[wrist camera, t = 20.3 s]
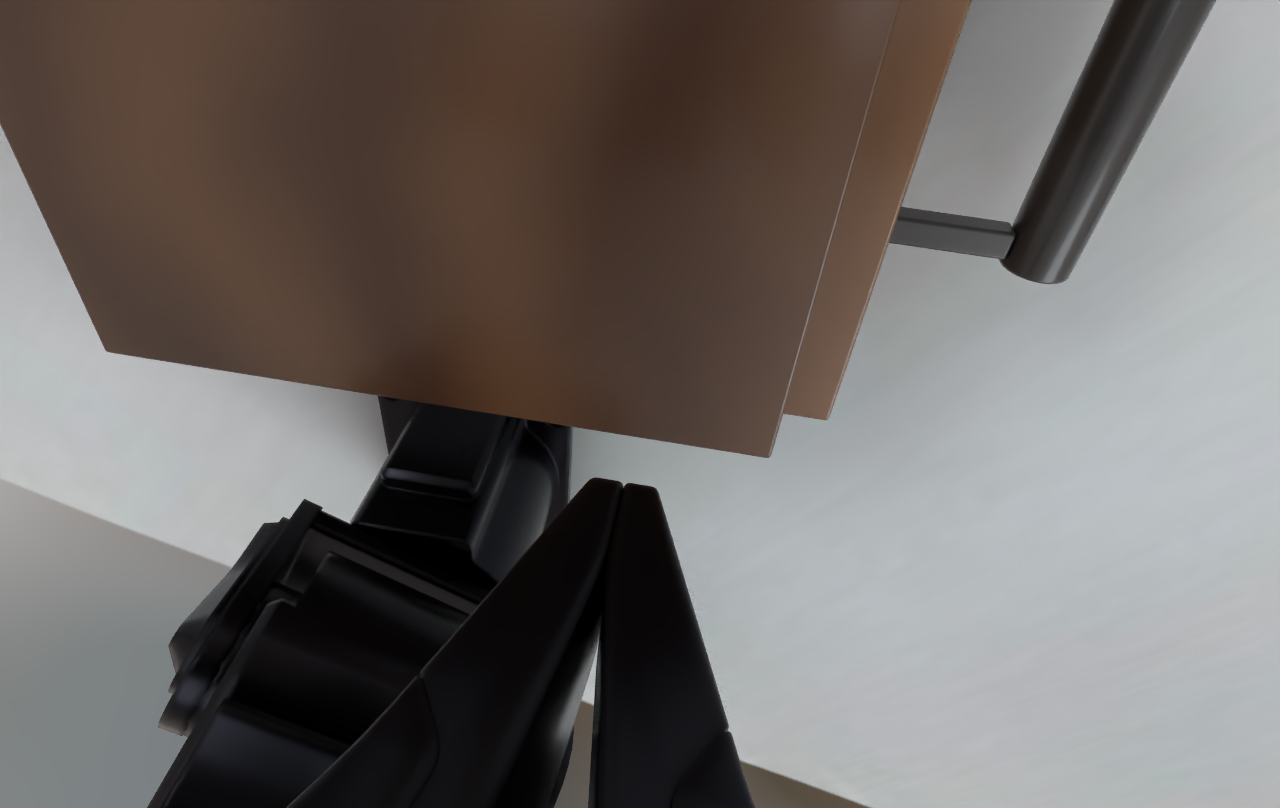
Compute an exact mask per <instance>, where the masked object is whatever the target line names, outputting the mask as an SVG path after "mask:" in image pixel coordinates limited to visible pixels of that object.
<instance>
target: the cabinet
mask: <svg viewBox="0 0 1280 808" xmlns="http://www.w3.org/2000/svg"><path fill="white" fill-rule="evenodd" d="M900 3H901V0H0V124H1V127H2V129H3V131H4V133H5V135H6V137H7V140H8V142H9V144H10V146H11V148H12V150H13V152H14V155H15V157H16V159H17V161H18V163H19V165H20V167H21V170H22V172H23V174H24V176H25V178H26V180H27V183H28V185H29V187H30V189H31V191H32V193H33V195H34V198H35V200H36V202H37V204H38V206H39V208H40V211H41V213H42V215H43V217H44V219H45V221H46V223H47V226H48V228H49V230H50V232H51V234H52V236H53V238H54V241H55V243H56V245H57V247H58V249H59V251H60V254H61V256H62V258H63V260H64V262H65V264H66V266H67V269H68V271H69V273H70V275H71V277H72V279H73V281H74V284H75V286H76V288H77V290H78V292H79V294H80V297H81V299H82V301H83V303H84V305H85V307H86V309H87V312H88V314H89V316H90V318H91V320H92V322H93V325H94V327H95V329H96V331H97V333H98V335H99V337H100V340H101V342H102V344H103V346H104V348H105V350H106V351H107V352H111V353H117V354H123V355H129V356H136V357H142V358H148V359H154V360H160V361H167V362H173V363H179V364H185V365H192V366H198V367H204V368H210V369H216V370H223V371H229V372H235V373H241V374H248V375H254V376H260V377H266V378H273V379H279V380H285V381H291V382H297V383H304V384H310V385H316V386H322V387H329V388H335V389H341V390H347V391H354V392H360V393H366V394H372V395H378V396H385V397H391V398H397V399H403V400H410V401H416V402H422V403H428V404H435V405H441V406H447V407H453V408H459V409H466V410H472V411H478V412H484V413H491V414H497V415H503V416H509V417H516V418H522V419H528V420H534V421H540V422H547V423H553V424H559V425H565V426H572V427H578V428H584V429H590V430H596V431H603V432H609V433H615V434H621V435H628V436H634V437H640V438H646V439H653V440H659V441H665V442H671V443H677V444H684V445H690V446H696V447H702V448H709V449H715V450H721V451H727V452H734V453H740V454H746V455H752V456H758V457H765V458H770V456H771V454H772V451H773V447H774V444H775V440H776V437H777V433H778V430H779V426H780V423H781V419H782V416H783V412H784V409H785V405H786V402H787V398H788V395H789V391H790V388H791V384H792V381H793V377H794V374H795V370H796V367H797V363H798V360H799V356H800V353H801V349H802V346H803V342H804V339H805V335H806V332H807V328H808V325H809V321H810V318H811V314H812V311H813V307H814V304H815V300H816V297H817V293H818V290H819V286H820V283H821V279H822V276H823V272H824V269H825V265H826V262H827V258H828V255H829V251H830V248H831V244H832V241H833V237H834V234H835V230H836V227H837V223H838V220H839V216H840V213H841V209H842V206H843V202H844V199H845V195H846V192H847V188H848V185H849V181H850V178H851V174H852V171H853V167H854V164H855V160H856V157H857V153H858V150H859V146H860V143H861V139H862V136H863V132H864V129H865V125H866V122H867V118H868V115H869V111H870V108H871V104H872V101H873V97H874V94H875V90H876V87H877V83H878V80H879V76H880V73H881V69H882V66H883V62H884V59H885V55H886V52H887V48H888V45H889V41H890V38H891V34H892V31H893V27H894V24H895V20H896V17H897V13H898V10H899V6H900Z"/></svg>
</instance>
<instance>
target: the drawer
mask: <svg viewBox="0 0 1280 808" xmlns="http://www.w3.org/2000/svg"><path fill="white" fill-rule="evenodd" d="M1215 2H1216V0H1114V2H1113V4H1112V7H1111V9H1110V11H1109V13H1108V15H1107V18H1106V20H1105V22H1104V24H1103V26H1102V29H1101V31H1100V33H1099V35H1098V37H1097V40H1096V42H1095V44H1094V46H1093V49H1092V51H1091V53H1090V55H1089V57H1088V60H1087V62H1086V64H1085V66H1084V68H1083V71H1082V73H1081V75H1080V77H1079V79H1078V82H1077V84H1076V86H1075V88H1074V91H1073V93H1072V95H1071V97H1070V99H1069V102H1068V104H1067V106H1066V108H1065V110H1064V113H1063V115H1062V117H1061V119H1060V121H1059V124H1058V126H1057V128H1056V130H1055V133H1054V135H1053V137H1052V139H1051V141H1050V144H1049V146H1048V148H1047V150H1046V152H1045V155H1044V157H1043V159H1042V161H1041V163H1040V166H1039V168H1038V170H1037V172H1036V174H1035V177H1034V179H1033V181H1032V183H1031V186H1030V188H1029V190H1028V192H1027V194H1026V197H1025V199H1024V201H1023V203H1022V205H1021V208H1020V210H1019V212H1018V214H1017V216H1016V219H1015V221H1014V223H1013V225H1012V226H1011V224H1010V223H1008V222H1002V221H995V220H988V219H981V218H974V217H967V216H961V215H954V214H947V213H940V212H933V211H926V210H919V209H912V208H905V207H901V206H902V203H903V200H904V197H905V194H906V191H907V188H908V185H909V182H910V179H911V176H912V173H913V170H914V167H915V164H916V162H917V159H918V156H919V153H920V150H921V147H922V144H923V141H924V138H925V135H926V132H927V129H928V126H929V123H930V120H931V117H932V115H933V112H934V109H935V106H936V103H937V100H938V97H939V94H940V91H941V88H942V85H943V82H944V79H945V76H946V73H947V71H948V68H949V65H950V62H951V59H952V56H953V53H954V50H955V47H956V44H957V41H958V38H959V35H960V32H961V29H962V26H963V24H964V21H965V18H966V15H967V12H968V9H969V6H970V3H971V0H901V3H900V6H899V10H898V13H897V17H896V20H895V24H894V27H893V31H892V34H891V38H890V41H889V45H888V48H887V52H886V55H885V59H884V62H883V66H882V69H881V73H880V76H879V80H878V83H877V87H876V90H875V94H874V97H873V101H872V104H871V108H870V111H869V115H868V118H867V122H866V125H865V129H864V132H863V136H862V139H861V143H860V146H859V150H858V153H857V157H856V160H855V164H854V167H853V171H852V174H851V178H850V181H849V185H848V188H847V192H846V195H845V199H844V202H843V206H842V209H841V213H840V216H839V220H838V223H837V227H836V230H835V234H834V237H833V241H832V244H831V248H830V251H829V255H828V258H827V262H826V265H825V269H824V272H823V276H822V279H821V283H820V286H819V290H818V293H817V297H816V300H815V304H814V307H813V311H812V314H811V318H810V321H809V325H808V328H807V332H806V335H805V339H804V342H803V346H802V349H801V353H800V356H799V360H798V363H797V367H796V370H795V374H794V377H793V381H792V384H791V388H790V391H789V395H788V398H787V402H786V405H785V409H784V412H783V414H789V415H796V416H802V417H808V418H815V419H821V420H828V419H829V417H830V414H831V411H832V408H833V405H834V402H835V399H836V396H837V393H838V390H839V388H840V385H841V382H842V379H843V376H844V373H845V370H846V367H847V364H848V361H849V358H850V355H851V352H852V349H853V346H854V344H855V341H856V338H857V335H858V332H859V329H860V326H861V323H862V320H863V317H864V314H865V311H866V308H867V305H868V302H869V299H870V297H871V294H872V291H873V288H874V285H875V282H876V279H877V276H878V273H879V270H880V267H881V264H882V261H883V258H884V255H885V253H886V250H887V247H888V244H889V243H894V244H901V245H908V246H915V247H921V248H928V249H935V250H942V251H949V252H956V253H963V254H969V255H976V256H983V257H990V258H997V259H999V260H1000V263H1001V264H1002V265H1003V267H1005V268H1006V269H1007V270H1008V271H1010V272H1011V273H1013V274H1015V275H1017V276H1019V277H1021V278H1024V279H1027V280H1030V281H1033V282H1037V283H1044V284H1058V283H1061V282H1064V281H1065V280H1066V279H1068V278H1069V276H1070V274H1071V272H1072V270H1073V268H1074V267H1075V265H1076V263H1077V261H1078V259H1079V257H1080V255H1081V253H1082V252H1083V250H1084V248H1085V246H1086V244H1087V242H1088V240H1089V238H1090V237H1091V235H1092V233H1093V231H1094V229H1095V227H1096V225H1097V223H1098V221H1099V220H1100V218H1101V216H1102V214H1103V212H1104V210H1105V208H1106V206H1107V205H1108V203H1109V201H1110V199H1111V197H1112V195H1113V193H1114V191H1115V190H1116V188H1117V186H1118V184H1119V182H1120V180H1121V178H1122V176H1123V175H1124V173H1125V171H1126V169H1127V167H1128V165H1129V163H1130V161H1131V160H1132V158H1133V156H1134V154H1135V152H1136V150H1137V148H1138V146H1139V144H1140V143H1141V141H1142V139H1143V137H1144V135H1145V133H1146V131H1147V129H1148V128H1149V126H1150V124H1151V122H1152V120H1153V118H1154V116H1155V114H1156V113H1157V111H1158V109H1159V107H1160V105H1161V103H1162V101H1163V99H1164V98H1165V96H1166V94H1167V92H1168V90H1169V88H1170V86H1171V84H1172V82H1173V81H1174V79H1175V77H1176V75H1177V73H1178V71H1179V69H1180V67H1181V66H1182V64H1183V62H1184V60H1185V58H1186V56H1187V54H1188V52H1189V51H1190V49H1191V47H1192V45H1193V43H1194V41H1195V39H1196V37H1197V36H1198V34H1199V32H1200V30H1201V28H1202V26H1203V24H1204V22H1205V21H1206V19H1207V17H1208V15H1209V13H1210V11H1211V9H1212V7H1213V5H1214V4H1215Z"/></svg>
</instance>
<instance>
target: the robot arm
mask: <svg viewBox="0 0 1280 808" xmlns="http://www.w3.org/2000/svg"><path fill="white" fill-rule="evenodd" d="M378 398H379V404H380V409H381V415H382V420H383V426H384V432H385V437H386V443H387V448H388V454H389V456H388V457H387V459H386V461H385V463H384V464H383V466H382V468H381V470H380V471H379V473H378V475H377V477H376V478H375V480H374V482H373V483H372V485H371V487H370V489H369V490H368V492H367V494H366V496H365V497H364V499H363V501H362V503H361V504H360V506H359V508H358V510H357V511H356V513H355V515H354V517H353V518H352V520H351V522H350V523H347V522H345V521H343V520H341V519H339V518H337V517H334V516H332V515H330V514H328V513H326V512H324V511H322V508H323V507H321V506H319V505H317V504H314V503H312V502H310V501H308V500H306V499H304V500H303V501H302V503H301V504H300V506H299V507H298V508H297V510H296V511H295V513H294V514H293V515H292V517H291V518H290V519H287V518H285V517H283V518H282V519H281V520H280V521H279V522H277V523H264V524H263V525H262V526H261V528H260V529H259V531H258V532H257V534H256V535H255V537H254V538H253V540H252V541H251V542H250V544H249V545H248V547H247V548H246V550H245V551H244V552H243V554H242V555H241V557H240V558H239V560H238V561H237V562H236V564H235V565H234V566H233V568H232V569H231V570H230V571H229V573H228V574H227V575H226V576H225V577H224V578H223V580H222V581H221V582H220V583H219V584H218V585H217V586H216V587H215V588H214V589H213V590H212V592H211V593H210V594H209V595H208V596H207V597H206V598H205V599H204V600H203V601H202V602H201V603H200V605H199V606H198V607H197V608H196V609H195V610H194V611H193V612H192V613H191V614H190V615H189V616H188V618H187V619H186V620H185V621H184V622H183V623H182V625H181V626H180V627H179V629H178V630H177V632H176V633H175V635H174V636H173V638H172V640H171V642H170V644H169V650H170V654H171V657H172V661H173V665H174V668H175V672H176V675H175V677H174V679H173V681H172V683H171V685H170V688H169V690H168V691H169V693H171V694H173V695H172V697H171V699H170V701H169V703H168V704H167V706H166V708H165V710H164V712H163V714H162V717H161V719H160V721H159V724H158V727H159V728H161V729H164V730H167V731H169V732H172V733H175V734H177V735H180V736H183V735H184V736H187V737H188V739H187V740H186V742H185V744H184V745H183V747H182V749H181V751H180V752H179V754H178V756H177V757H176V759H175V761H174V763H173V764H172V766H171V768H170V769H169V771H168V773H167V775H166V776H165V778H164V780H163V782H162V783H161V785H160V786H159V788H158V790H157V792H156V793H155V795H154V797H153V799H152V800H151V802H150V804H149V806H148V807H147V808H553V807H554V805H555V803H556V800H557V798H558V795H559V793H560V790H561V788H562V785H563V782H564V778H565V775H566V772H567V768H568V765H569V760H570V755H571V751H572V743H573V734H574V721H575V718H576V715H577V712H578V708H579V705H580V702H581V699H582V696H583V693H584V690H585V686H586V683H587V680H588V677H589V674H590V671H591V667H592V664H593V660H594V657H595V653H596V650H597V645H598V655H597V666H596V682H595V699H594V717H593V734H592V751H591V767H590V785H589V802H588V808H755V805H754V802H753V799H752V796H751V793H750V790H749V787H748V784H747V782H746V778H745V776H744V773H743V770H742V767H741V764H740V760H739V757H738V754H737V750H736V747H735V744H734V740H733V737H732V734H731V733H730V732H729V731H728V728H729V725H728V722H727V718H726V715H725V712H724V708H723V705H722V702H721V698H720V695H719V692H718V688H717V685H716V682H715V678H714V675H713V672H712V669H711V665H710V662H709V659H708V655H707V652H706V649H705V645H704V642H703V639H702V635H701V632H700V629H699V625H698V622H697V619H696V615H695V612H694V609H693V606H692V602H691V599H690V596H689V592H688V589H687V586H686V582H685V579H684V576H683V572H682V569H681V566H680V562H679V559H678V556H677V552H676V549H675V546H674V543H673V539H672V536H671V533H670V529H669V526H668V523H667V519H666V516H665V513H664V509H663V506H662V503H661V499H660V496H659V493H658V491H657V489H656V488H654V487H651V486H645V485H639V484H633V483H628V484H626V485H625V486H624V488H623V485H622V483H621V482H619V481H614V480H608V479H602V478H592V479H590V480H589V481H588V482H587V483H586V484H585V485H584V486H583V487H582V489H581V490H580V491H579V492H578V493H577V494H576V495H575V497H574V498H573V499H572V500H571V501H570V483H571V460H572V436H573V427H572V426H565V425H559V424H553V423H547V422H540V421H534V420H528V419H522V418H516V417H509V416H503V415H497V414H491V413H484V412H478V411H472V410H466V409H459V408H453V407H447V406H441V405H435V404H428V403H422V402H416V401H410V400H403V399H397V398H391V397H385V396H378ZM598 640H599V644H598Z"/></svg>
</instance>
